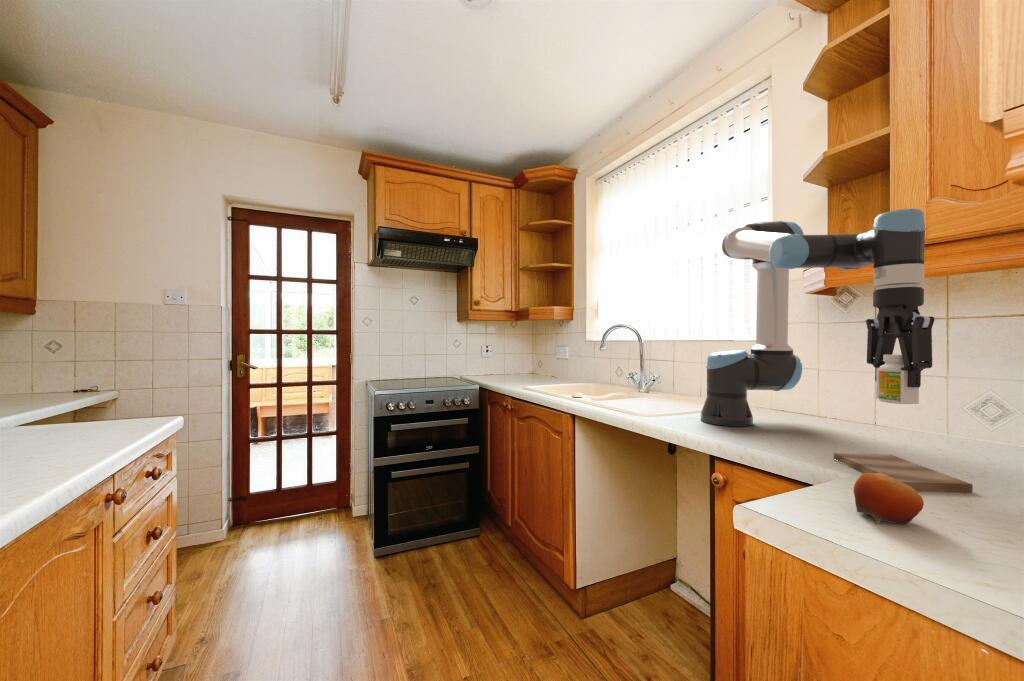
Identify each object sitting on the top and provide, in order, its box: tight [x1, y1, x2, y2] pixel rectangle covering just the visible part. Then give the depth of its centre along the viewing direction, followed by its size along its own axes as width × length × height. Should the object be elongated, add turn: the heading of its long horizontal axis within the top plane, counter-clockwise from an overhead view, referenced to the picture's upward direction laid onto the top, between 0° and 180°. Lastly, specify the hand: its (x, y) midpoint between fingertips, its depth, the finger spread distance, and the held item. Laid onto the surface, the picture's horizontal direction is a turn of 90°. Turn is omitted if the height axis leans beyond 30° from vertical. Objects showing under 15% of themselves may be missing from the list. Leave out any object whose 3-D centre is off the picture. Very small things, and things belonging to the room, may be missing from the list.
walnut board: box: [833, 452, 973, 493], centre depth 83 cm, size 18×12×2 cm, turn 174°
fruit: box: [853, 473, 925, 526], centre depth 63 cm, size 8×8×8 cm
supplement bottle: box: [878, 354, 904, 405], centre depth 82 cm, size 5×5×10 cm
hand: (896, 400), depth 82 cm, fingers closed on supplement bottle, 5 cm apart
